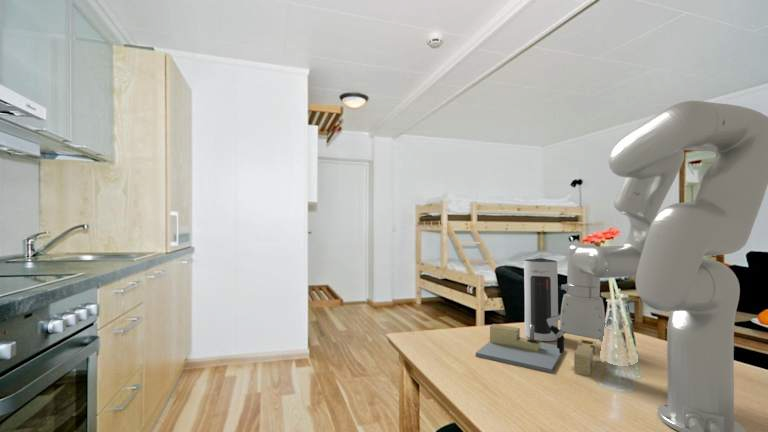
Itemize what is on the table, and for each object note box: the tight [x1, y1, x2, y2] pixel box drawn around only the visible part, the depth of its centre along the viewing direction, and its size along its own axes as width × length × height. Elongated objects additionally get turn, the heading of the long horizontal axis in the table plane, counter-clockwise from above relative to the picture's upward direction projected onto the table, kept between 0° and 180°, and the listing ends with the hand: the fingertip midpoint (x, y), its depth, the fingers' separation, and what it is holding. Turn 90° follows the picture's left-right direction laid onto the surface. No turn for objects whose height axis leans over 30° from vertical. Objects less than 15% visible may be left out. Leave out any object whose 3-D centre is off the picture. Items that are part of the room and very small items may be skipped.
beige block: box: [573, 338, 597, 377], centre depth 97 cm, size 14×4×5 cm, turn 145°
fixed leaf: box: [489, 323, 542, 352], centre depth 110 cm, size 4×14×7 cm, turn 55°
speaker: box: [523, 257, 559, 343], centre depth 121 cm, size 11×10×26 cm
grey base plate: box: [475, 340, 565, 374], centre depth 106 cm, size 20×20×1 cm
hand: (581, 355), depth 95 cm, fingers open, 9 cm apart
